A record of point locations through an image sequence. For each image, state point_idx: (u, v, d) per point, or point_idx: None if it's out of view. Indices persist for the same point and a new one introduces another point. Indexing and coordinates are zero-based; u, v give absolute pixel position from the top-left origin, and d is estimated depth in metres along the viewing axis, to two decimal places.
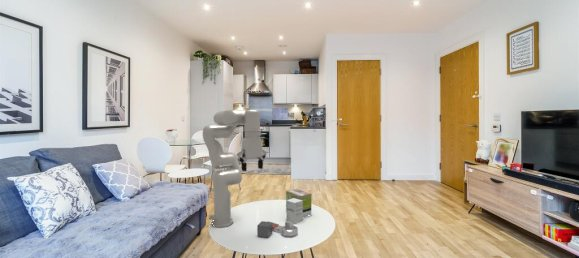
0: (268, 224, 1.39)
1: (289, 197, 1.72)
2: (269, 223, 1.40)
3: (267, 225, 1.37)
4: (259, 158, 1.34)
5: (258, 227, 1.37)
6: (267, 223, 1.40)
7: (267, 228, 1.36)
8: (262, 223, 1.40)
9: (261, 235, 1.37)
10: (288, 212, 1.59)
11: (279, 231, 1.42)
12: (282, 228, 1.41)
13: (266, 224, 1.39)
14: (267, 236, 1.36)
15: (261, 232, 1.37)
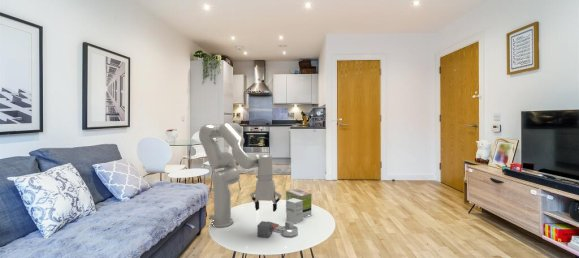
0: (268, 224, 1.39)
1: (289, 197, 1.72)
2: (269, 223, 1.40)
3: (267, 225, 1.37)
4: None
5: (258, 227, 1.37)
6: (267, 223, 1.40)
7: (267, 228, 1.36)
8: (262, 223, 1.40)
9: (261, 235, 1.37)
10: (288, 212, 1.59)
11: (279, 231, 1.42)
12: (282, 228, 1.41)
13: (266, 224, 1.39)
14: (267, 236, 1.36)
15: (261, 232, 1.37)
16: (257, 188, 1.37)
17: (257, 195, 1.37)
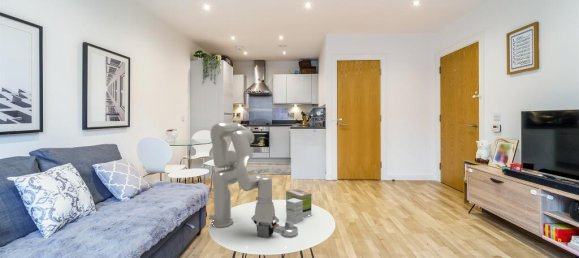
0: (268, 224, 1.39)
1: (289, 197, 1.72)
2: None
3: (267, 225, 1.37)
4: (258, 223, 1.40)
5: (258, 227, 1.37)
6: (267, 223, 1.40)
7: (267, 228, 1.36)
8: (262, 223, 1.40)
9: (261, 235, 1.37)
10: (288, 212, 1.59)
11: (279, 231, 1.42)
12: (282, 228, 1.41)
13: (266, 224, 1.39)
14: (267, 236, 1.36)
15: (261, 232, 1.37)
16: (257, 210, 1.38)
17: (256, 217, 1.38)
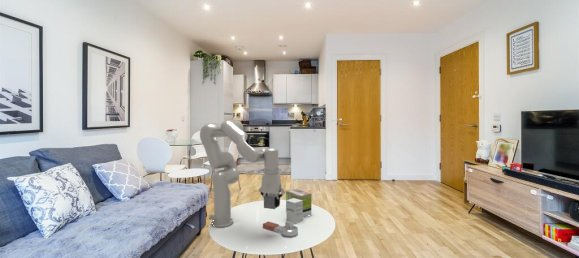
0: (274, 196, 1.38)
1: (289, 197, 1.72)
2: None
3: (273, 196, 1.37)
4: None
5: (264, 198, 1.38)
6: (274, 195, 1.40)
7: (273, 199, 1.36)
8: (269, 195, 1.40)
9: (267, 206, 1.37)
10: (288, 212, 1.59)
11: (279, 231, 1.42)
12: (282, 228, 1.41)
13: (272, 196, 1.39)
14: (273, 207, 1.36)
15: (267, 203, 1.37)
16: (263, 181, 1.38)
17: (263, 188, 1.38)
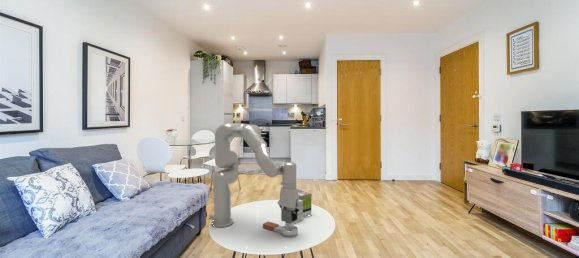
0: (292, 210, 1.40)
1: None
2: None
3: (290, 210, 1.38)
4: None
5: (282, 211, 1.40)
6: (291, 209, 1.41)
7: (289, 213, 1.37)
8: (287, 208, 1.42)
9: (284, 219, 1.39)
10: None
11: (279, 231, 1.42)
12: (282, 228, 1.41)
13: (290, 209, 1.40)
14: (289, 221, 1.37)
15: (284, 217, 1.39)
16: (281, 195, 1.41)
17: (281, 201, 1.41)
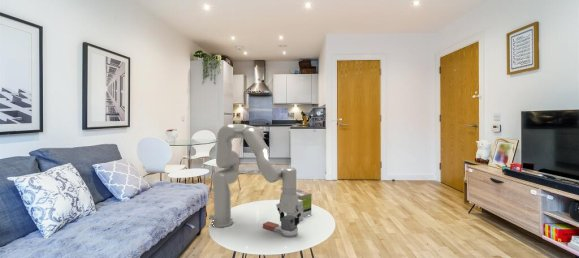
0: (292, 218, 1.40)
1: None
2: (293, 217, 1.41)
3: (290, 219, 1.39)
4: None
5: (282, 219, 1.40)
6: (291, 217, 1.41)
7: (289, 221, 1.37)
8: (287, 216, 1.42)
9: (284, 228, 1.39)
10: None
11: (279, 231, 1.42)
12: None
13: (290, 218, 1.40)
14: (289, 229, 1.37)
15: (284, 225, 1.39)
16: (281, 200, 1.41)
17: (281, 207, 1.41)
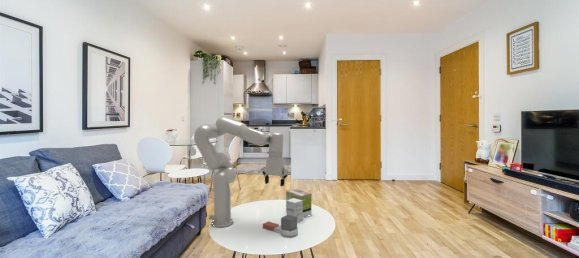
0: (291, 218, 1.40)
1: (289, 197, 1.72)
2: (293, 217, 1.41)
3: (290, 219, 1.39)
4: None
5: (282, 220, 1.40)
6: (291, 217, 1.41)
7: (289, 222, 1.37)
8: (287, 216, 1.42)
9: (284, 228, 1.39)
10: (288, 212, 1.59)
11: (279, 231, 1.42)
12: None
13: (290, 218, 1.40)
14: (289, 230, 1.37)
15: (284, 225, 1.39)
16: (267, 163, 1.47)
17: (267, 170, 1.47)
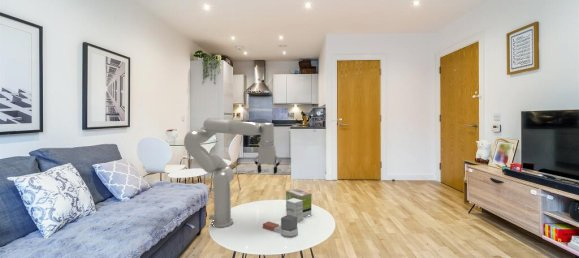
0: (291, 218, 1.40)
1: (289, 197, 1.72)
2: (293, 217, 1.41)
3: (290, 219, 1.38)
4: None
5: (282, 220, 1.40)
6: (291, 217, 1.41)
7: (289, 222, 1.37)
8: (287, 216, 1.42)
9: (284, 228, 1.39)
10: (288, 212, 1.59)
11: (279, 231, 1.42)
12: None
13: (290, 218, 1.40)
14: (289, 230, 1.37)
15: (284, 225, 1.39)
16: (260, 152, 1.52)
17: (259, 159, 1.52)
